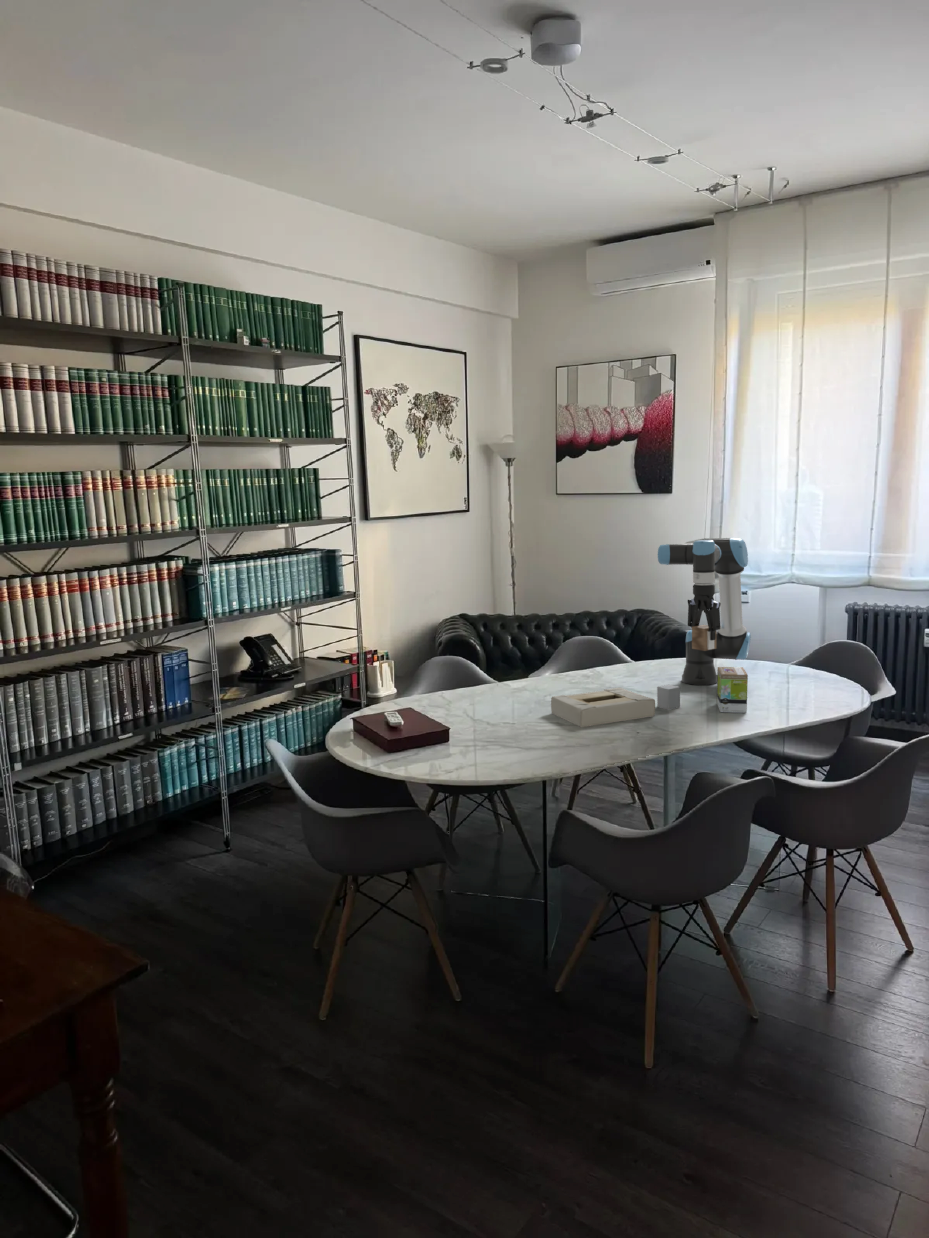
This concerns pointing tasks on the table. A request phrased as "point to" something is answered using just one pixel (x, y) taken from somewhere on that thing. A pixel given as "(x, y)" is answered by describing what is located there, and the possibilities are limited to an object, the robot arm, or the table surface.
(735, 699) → the tea box
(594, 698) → the box
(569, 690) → the table surface
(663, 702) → the slate block
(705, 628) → the walnut block
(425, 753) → the table surface
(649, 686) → the table surface
